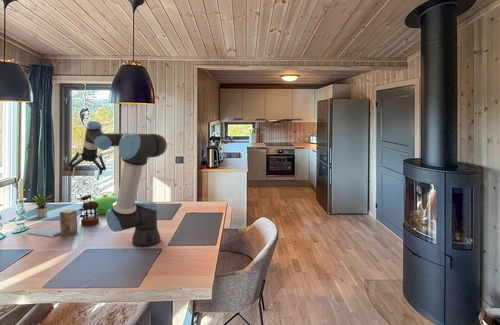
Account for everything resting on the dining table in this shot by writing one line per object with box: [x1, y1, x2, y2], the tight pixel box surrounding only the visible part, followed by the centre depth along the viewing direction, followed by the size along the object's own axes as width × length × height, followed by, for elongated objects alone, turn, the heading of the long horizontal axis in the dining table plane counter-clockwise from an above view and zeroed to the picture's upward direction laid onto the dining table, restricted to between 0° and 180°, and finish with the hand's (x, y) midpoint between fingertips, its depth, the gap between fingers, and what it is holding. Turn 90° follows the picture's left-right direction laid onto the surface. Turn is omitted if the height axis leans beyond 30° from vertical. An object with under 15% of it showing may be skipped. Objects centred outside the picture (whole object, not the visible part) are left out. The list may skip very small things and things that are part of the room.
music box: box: [76, 194, 104, 227], centre depth 201 cm, size 15×11×20 cm
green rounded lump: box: [91, 191, 118, 215], centre depth 225 cm, size 18×17×15 cm
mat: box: [26, 225, 62, 238], centre depth 186 cm, size 20×14×1 cm
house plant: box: [31, 193, 53, 218], centre depth 213 cm, size 14×14×16 cm
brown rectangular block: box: [59, 209, 78, 237], centre depth 181 cm, size 6×6×14 cm
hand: (85, 177), depth 187 cm, fingers open, 13 cm apart
